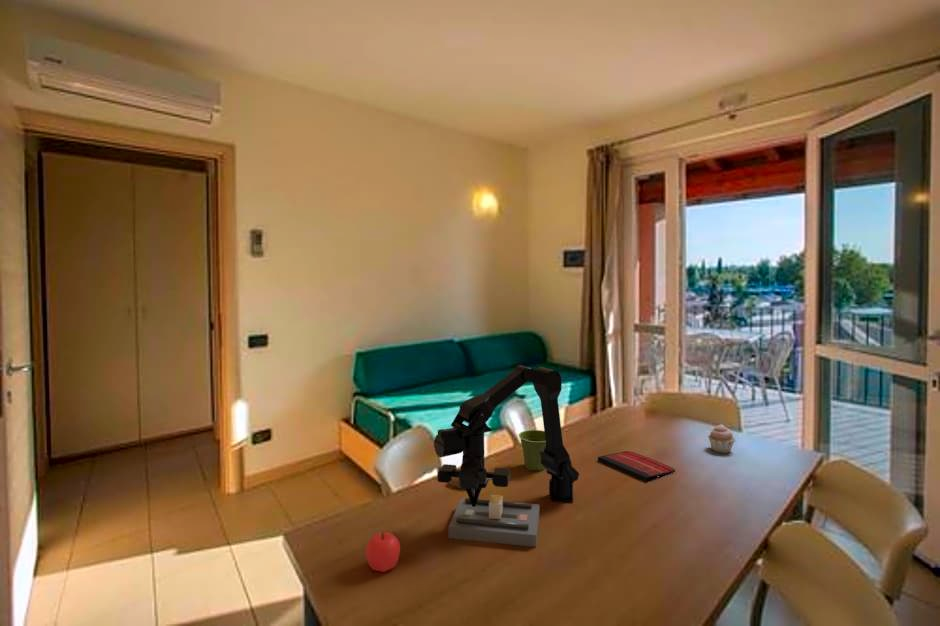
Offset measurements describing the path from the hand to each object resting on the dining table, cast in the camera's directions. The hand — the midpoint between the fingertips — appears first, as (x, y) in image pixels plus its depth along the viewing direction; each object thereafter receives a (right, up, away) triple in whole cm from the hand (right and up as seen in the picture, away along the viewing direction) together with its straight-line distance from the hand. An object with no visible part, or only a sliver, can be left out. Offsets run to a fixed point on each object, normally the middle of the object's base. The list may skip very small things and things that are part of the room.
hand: (474, 506), depth 130 cm
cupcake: (+93, 0, +52) cm, 106 cm away
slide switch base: (+6, -5, -1) cm, 8 cm away
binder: (+56, -2, +38) cm, 68 cm away
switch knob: (+6, -2, -1) cm, 6 cm away
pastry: (-2, -3, +24) cm, 24 cm away
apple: (-21, -7, -18) cm, 28 cm away
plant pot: (+22, -2, +38) cm, 43 cm away
